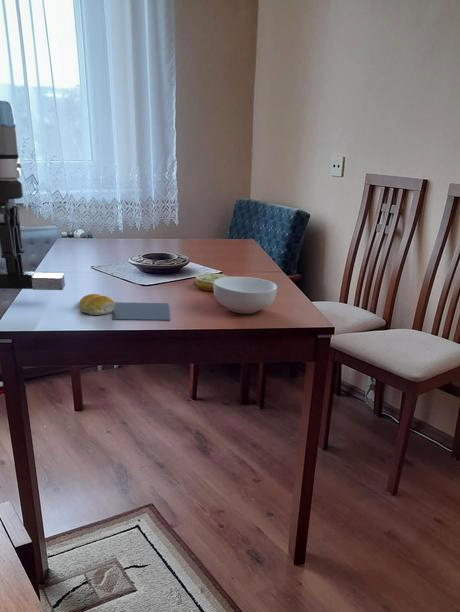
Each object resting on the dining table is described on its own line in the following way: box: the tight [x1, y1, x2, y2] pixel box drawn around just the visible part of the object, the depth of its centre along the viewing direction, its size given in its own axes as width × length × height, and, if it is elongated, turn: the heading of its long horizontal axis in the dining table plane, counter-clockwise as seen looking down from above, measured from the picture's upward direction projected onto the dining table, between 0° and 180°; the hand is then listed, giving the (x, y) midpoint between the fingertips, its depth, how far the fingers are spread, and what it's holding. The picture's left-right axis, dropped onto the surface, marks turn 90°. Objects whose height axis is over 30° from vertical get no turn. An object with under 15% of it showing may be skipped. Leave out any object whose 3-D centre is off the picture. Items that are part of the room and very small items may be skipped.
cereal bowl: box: [213, 276, 278, 315], centre depth 146 cm, size 17×17×7 cm
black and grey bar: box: [0, 270, 66, 291], centre depth 134 cm, size 17×4×4 cm, turn 97°
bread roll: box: [78, 293, 115, 316], centre depth 139 cm, size 8×9×4 cm
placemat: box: [111, 301, 171, 321], centre depth 141 cm, size 14×14×1 cm
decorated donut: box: [194, 272, 229, 292], centre depth 165 cm, size 10×11×4 cm
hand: (16, 282), depth 134 cm, fingers closed on black and grey bar, 3 cm apart
